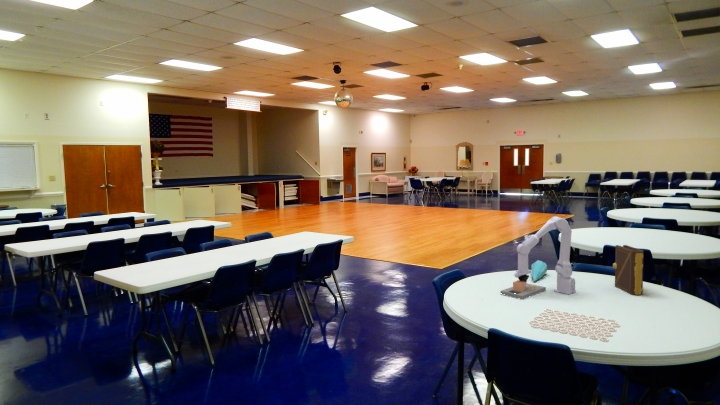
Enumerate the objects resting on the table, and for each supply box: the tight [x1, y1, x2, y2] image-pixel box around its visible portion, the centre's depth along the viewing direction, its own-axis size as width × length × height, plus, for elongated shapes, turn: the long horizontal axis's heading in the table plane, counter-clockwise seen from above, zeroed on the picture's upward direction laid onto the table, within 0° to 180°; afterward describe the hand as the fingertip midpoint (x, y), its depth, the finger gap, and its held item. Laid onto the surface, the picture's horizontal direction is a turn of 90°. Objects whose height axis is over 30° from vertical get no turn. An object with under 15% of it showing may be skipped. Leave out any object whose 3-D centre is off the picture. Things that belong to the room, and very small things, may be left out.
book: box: [612, 244, 645, 296], centre depth 270 cm, size 22×8×25 cm, turn 179°
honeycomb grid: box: [528, 308, 621, 343], centre depth 219 cm, size 30×35×1 cm
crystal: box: [531, 259, 548, 282], centre depth 306 cm, size 10×34×10 cm, turn 152°
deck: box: [500, 282, 547, 300], centre depth 272 cm, size 14×25×4 cm, turn 129°
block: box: [512, 279, 527, 292], centre depth 270 cm, size 5×5×5 cm
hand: (523, 287), depth 272 cm, fingers closed
